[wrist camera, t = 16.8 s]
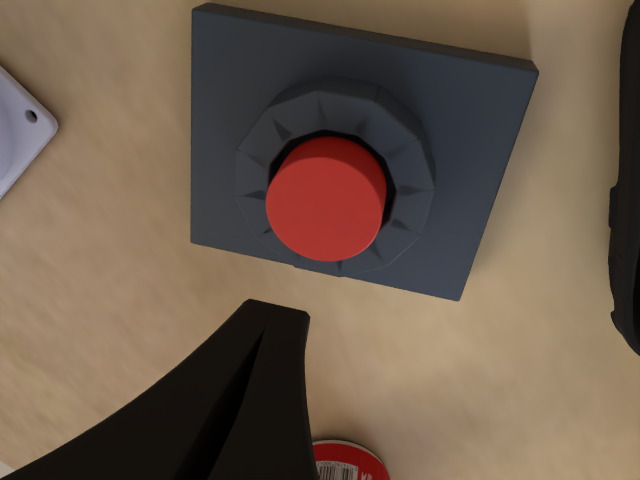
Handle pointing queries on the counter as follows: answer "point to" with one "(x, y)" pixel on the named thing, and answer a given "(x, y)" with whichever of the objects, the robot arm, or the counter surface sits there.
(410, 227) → the switch block
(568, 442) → the counter surface
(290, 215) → the power button
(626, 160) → the egg carton
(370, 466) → the beverage can
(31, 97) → the robot arm
